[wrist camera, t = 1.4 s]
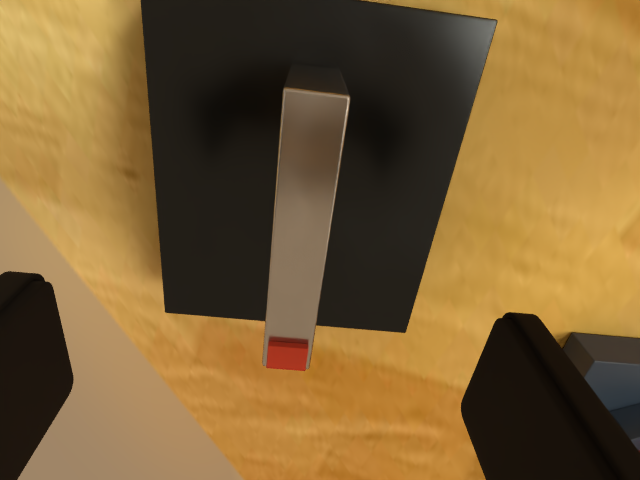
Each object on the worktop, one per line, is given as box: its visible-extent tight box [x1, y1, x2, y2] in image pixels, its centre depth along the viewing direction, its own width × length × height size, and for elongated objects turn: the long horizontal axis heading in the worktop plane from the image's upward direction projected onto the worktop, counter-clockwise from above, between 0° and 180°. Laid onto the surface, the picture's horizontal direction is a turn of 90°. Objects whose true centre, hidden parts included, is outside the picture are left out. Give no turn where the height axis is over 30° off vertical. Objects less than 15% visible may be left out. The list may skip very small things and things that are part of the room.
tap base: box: [141, 0, 497, 333], centre depth 17 cm, size 13×11×3 cm
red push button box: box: [563, 333, 640, 451], centre depth 25 cm, size 12×10×4 cm
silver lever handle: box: [262, 63, 351, 371], centre depth 14 cm, size 9×2×5 cm, turn 173°
